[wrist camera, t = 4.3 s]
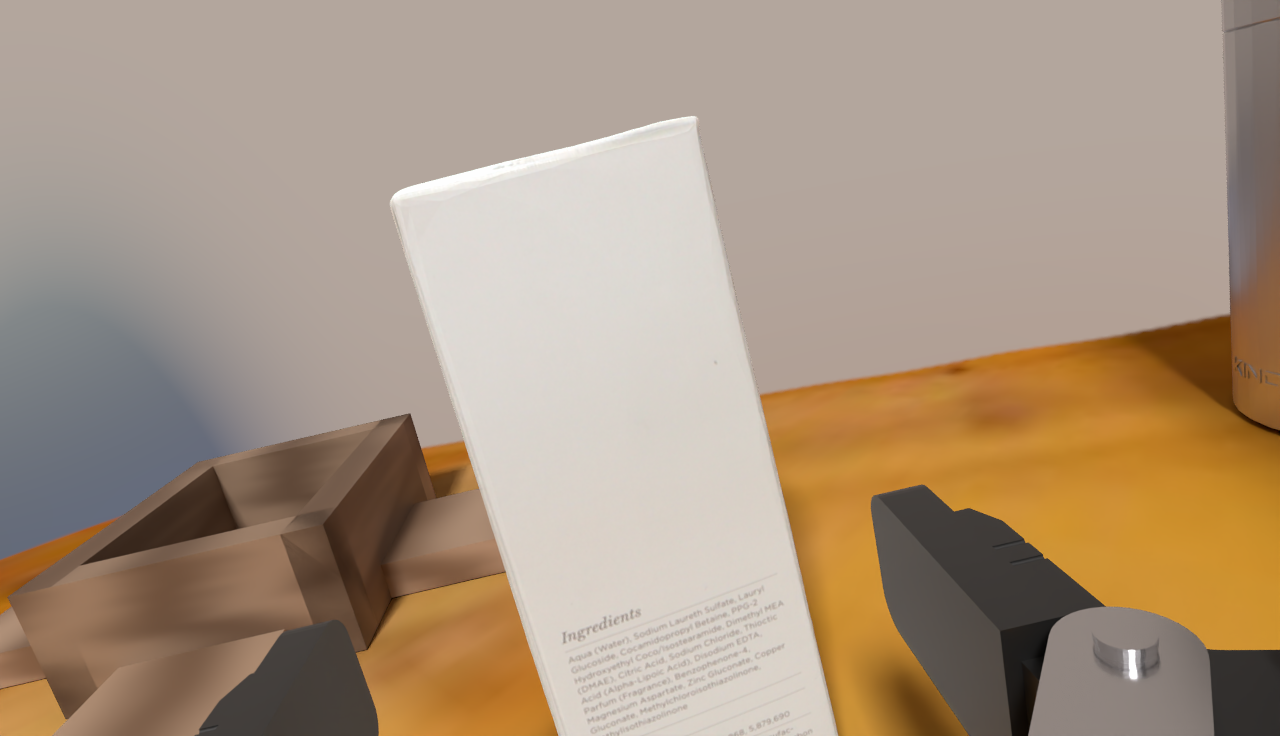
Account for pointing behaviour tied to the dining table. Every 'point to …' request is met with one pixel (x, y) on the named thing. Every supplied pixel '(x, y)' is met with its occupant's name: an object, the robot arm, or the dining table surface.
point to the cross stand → (238, 576)
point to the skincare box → (620, 436)
